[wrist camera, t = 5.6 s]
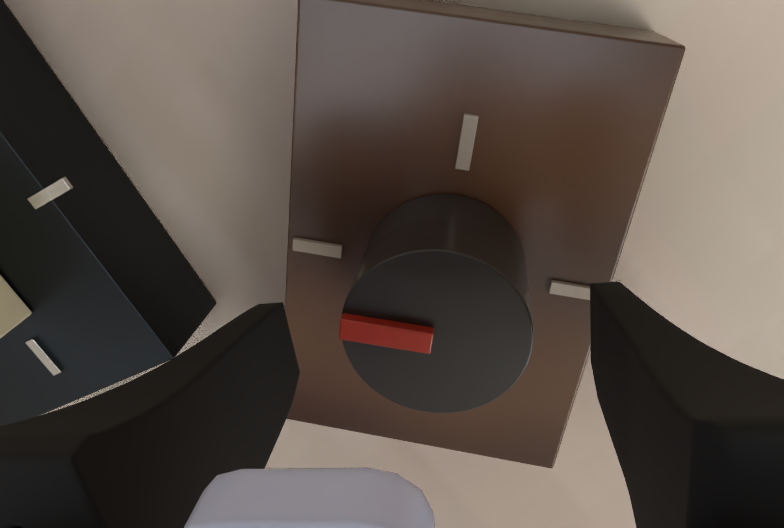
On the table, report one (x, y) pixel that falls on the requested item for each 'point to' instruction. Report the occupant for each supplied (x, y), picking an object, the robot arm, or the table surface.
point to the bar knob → (10, 308)
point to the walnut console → (465, 186)
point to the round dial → (440, 306)
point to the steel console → (77, 250)
